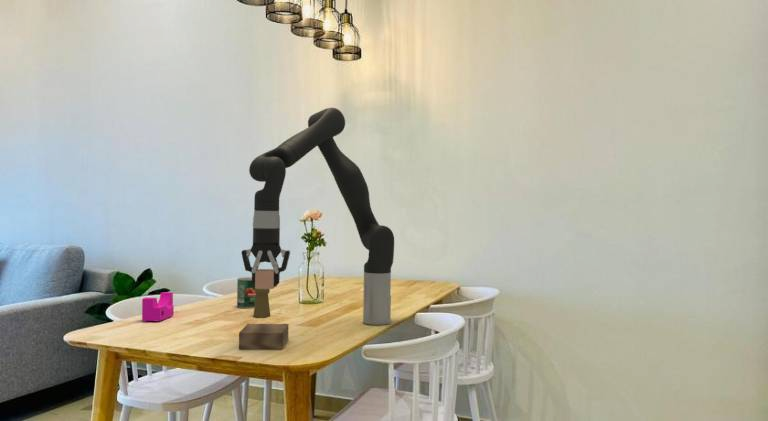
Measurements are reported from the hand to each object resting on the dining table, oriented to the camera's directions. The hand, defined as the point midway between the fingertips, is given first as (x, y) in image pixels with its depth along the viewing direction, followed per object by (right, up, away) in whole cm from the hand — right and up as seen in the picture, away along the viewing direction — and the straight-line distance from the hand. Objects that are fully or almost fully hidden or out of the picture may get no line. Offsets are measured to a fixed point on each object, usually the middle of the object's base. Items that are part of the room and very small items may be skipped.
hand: (265, 285), depth 159 cm
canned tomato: (-20, -16, +60) cm, 66 cm away
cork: (-10, -17, +42) cm, 46 cm away
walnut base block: (0, -17, 0) cm, 17 cm away
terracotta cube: (0, 0, 0) cm, 0 cm away
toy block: (-45, -16, +38) cm, 61 cm away
